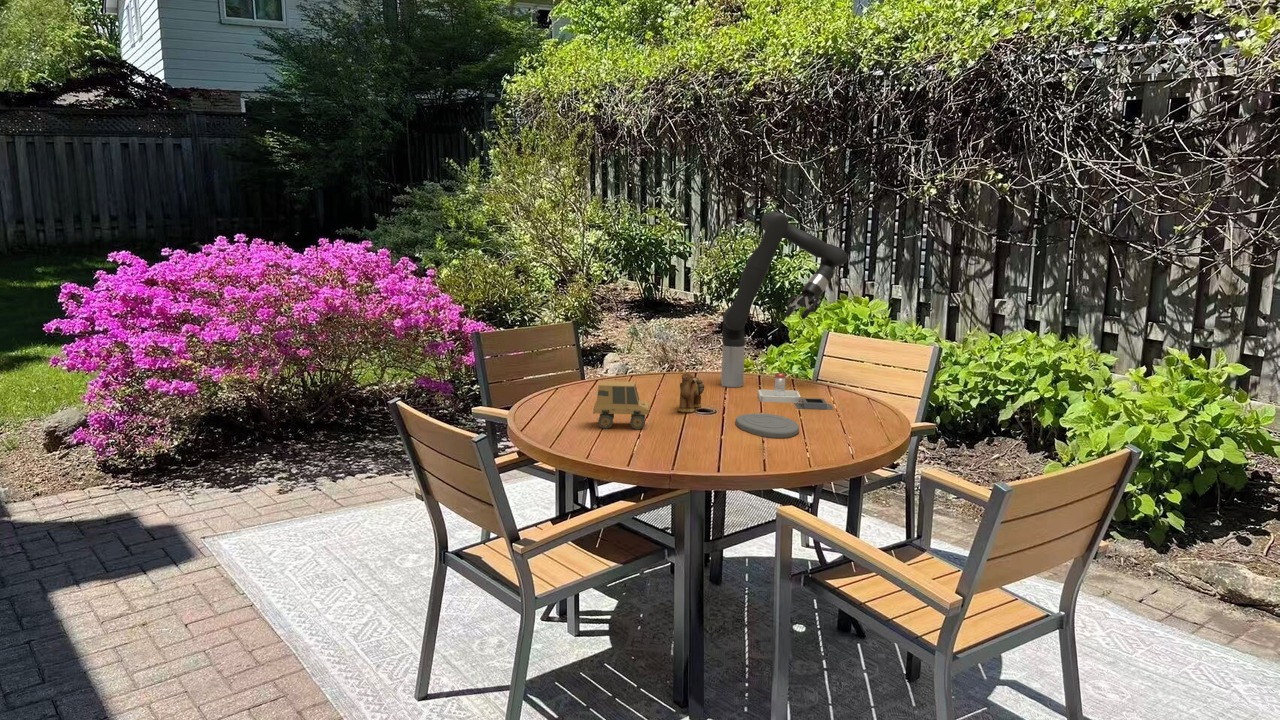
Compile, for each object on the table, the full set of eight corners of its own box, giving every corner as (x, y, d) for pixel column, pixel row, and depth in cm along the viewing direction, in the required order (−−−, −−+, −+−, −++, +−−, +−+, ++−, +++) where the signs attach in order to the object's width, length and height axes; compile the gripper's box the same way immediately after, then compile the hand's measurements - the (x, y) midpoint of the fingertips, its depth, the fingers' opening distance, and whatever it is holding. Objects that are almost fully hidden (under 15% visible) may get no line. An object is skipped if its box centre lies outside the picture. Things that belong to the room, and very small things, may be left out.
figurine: (671, 413, 323) (672, 373, 321) (684, 404, 337) (685, 366, 335) (696, 416, 320) (697, 375, 317) (707, 406, 334) (709, 368, 331)
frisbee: (763, 441, 290) (763, 434, 289) (723, 421, 314) (724, 414, 314) (815, 436, 298) (815, 428, 297) (772, 417, 322) (772, 410, 322)
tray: (760, 403, 340) (760, 396, 340) (757, 396, 352) (758, 389, 351) (800, 404, 340) (801, 397, 339) (797, 398, 351) (797, 390, 351)
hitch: (796, 410, 330) (797, 403, 330) (793, 405, 339) (794, 397, 339) (834, 411, 330) (834, 404, 329) (830, 406, 339) (830, 398, 338)
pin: (774, 399, 344) (775, 374, 342) (774, 397, 348) (774, 372, 346) (784, 400, 344) (785, 375, 342) (784, 397, 347) (785, 372, 345)
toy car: (648, 430, 300) (649, 387, 297) (592, 429, 301) (593, 386, 298) (649, 422, 310) (649, 381, 308) (594, 421, 311) (595, 379, 308)
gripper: (798, 279, 368) (777, 308, 363) (824, 282, 356) (803, 312, 352) (806, 291, 372) (786, 320, 367) (832, 295, 361) (811, 325, 356)
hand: (794, 316), depth 359 cm, fingers open, 8 cm apart
